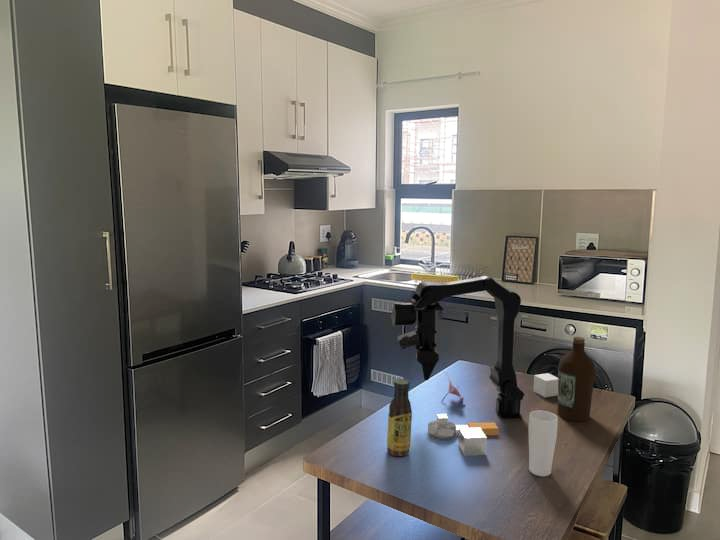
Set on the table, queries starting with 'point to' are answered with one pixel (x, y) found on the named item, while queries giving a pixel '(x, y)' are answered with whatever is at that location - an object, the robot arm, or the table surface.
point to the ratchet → (456, 428)
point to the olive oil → (575, 383)
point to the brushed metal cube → (472, 441)
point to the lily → (453, 390)
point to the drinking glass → (542, 441)
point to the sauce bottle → (399, 420)
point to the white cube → (545, 385)
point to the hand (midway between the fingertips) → (425, 374)
